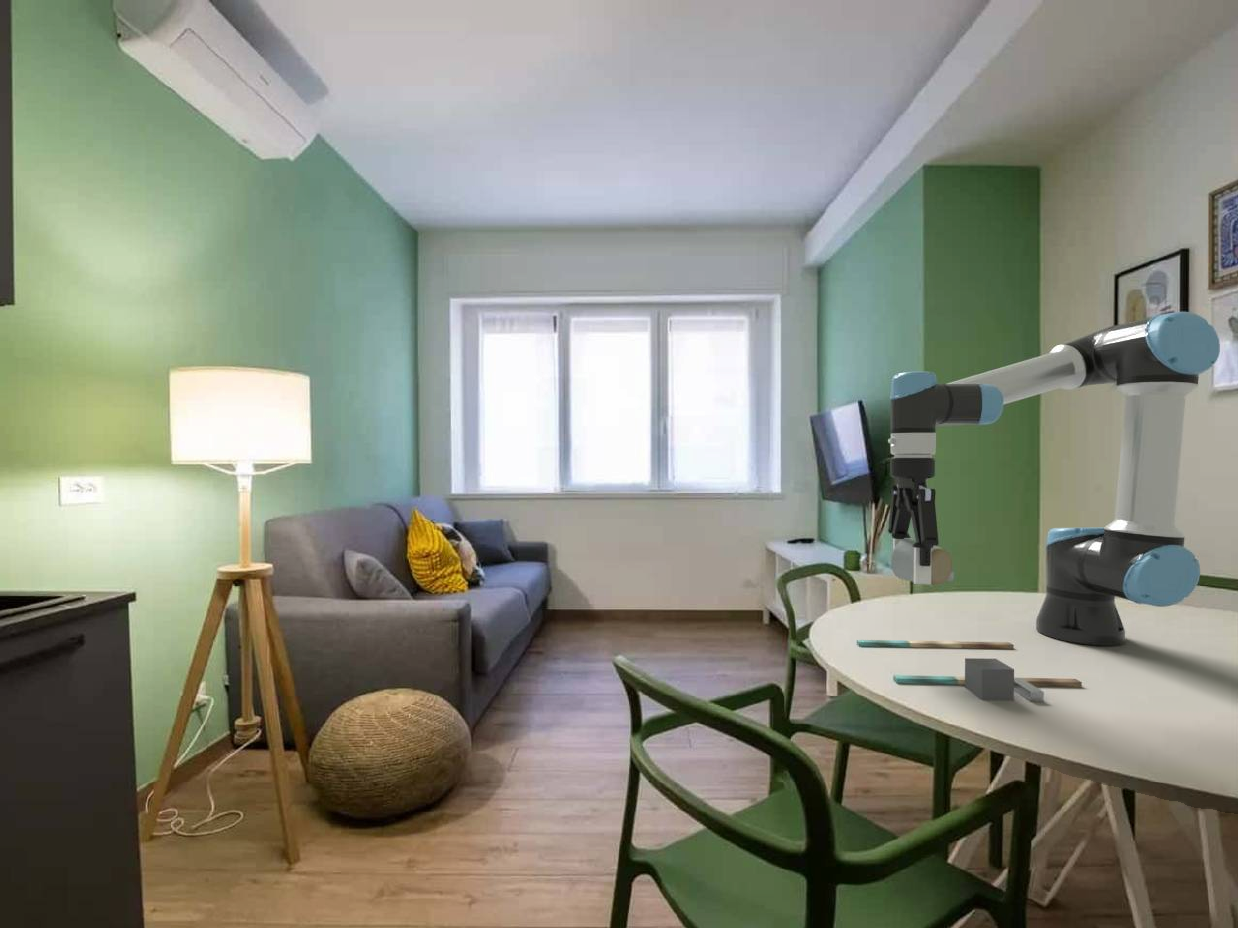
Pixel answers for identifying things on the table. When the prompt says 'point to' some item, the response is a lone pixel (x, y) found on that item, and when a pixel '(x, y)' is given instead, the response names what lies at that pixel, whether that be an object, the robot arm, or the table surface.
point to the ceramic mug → (905, 563)
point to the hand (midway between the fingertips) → (911, 577)
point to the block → (989, 679)
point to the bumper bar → (1028, 690)
